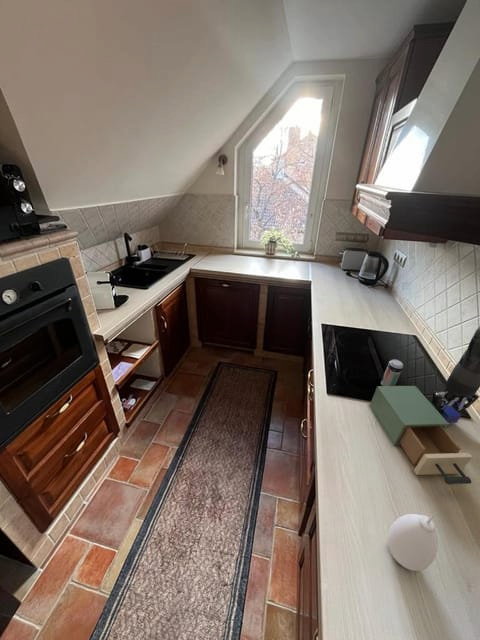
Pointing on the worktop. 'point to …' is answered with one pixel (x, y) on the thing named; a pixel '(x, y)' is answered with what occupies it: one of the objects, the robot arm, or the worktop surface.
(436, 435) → the drawer
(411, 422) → the cabinet
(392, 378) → the beer can
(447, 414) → the blue block
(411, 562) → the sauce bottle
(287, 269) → the worktop surface
